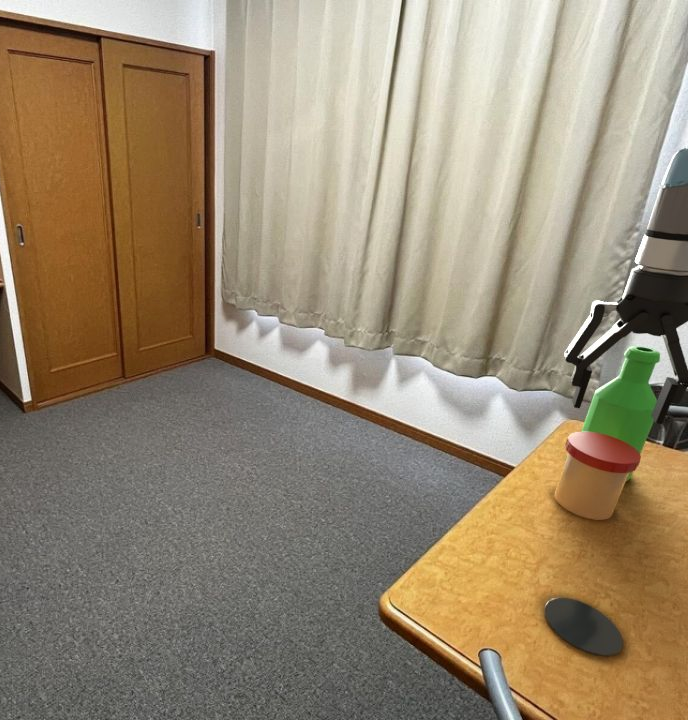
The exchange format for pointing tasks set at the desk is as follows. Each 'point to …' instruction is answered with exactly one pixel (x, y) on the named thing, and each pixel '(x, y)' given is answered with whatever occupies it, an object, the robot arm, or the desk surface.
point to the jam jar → (588, 490)
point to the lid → (603, 452)
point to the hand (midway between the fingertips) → (614, 411)
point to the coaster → (583, 627)
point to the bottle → (626, 401)
